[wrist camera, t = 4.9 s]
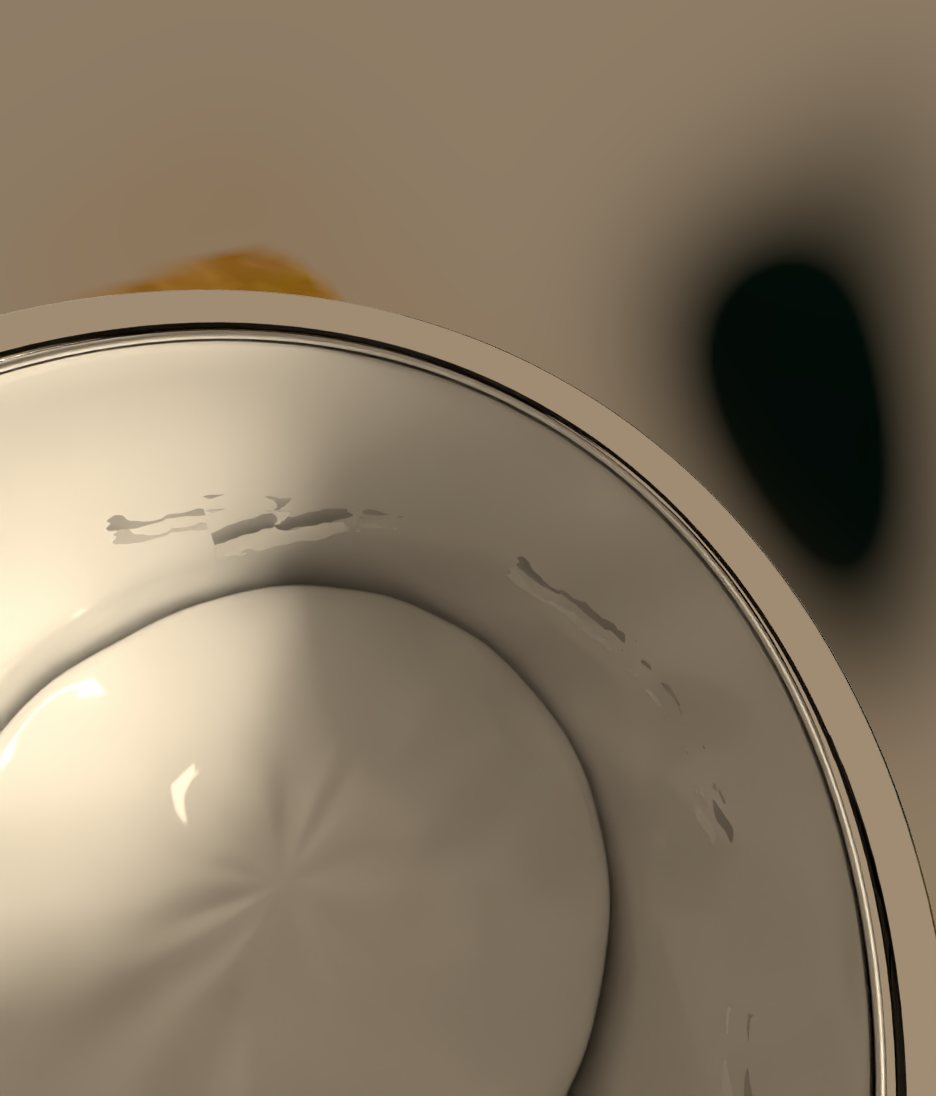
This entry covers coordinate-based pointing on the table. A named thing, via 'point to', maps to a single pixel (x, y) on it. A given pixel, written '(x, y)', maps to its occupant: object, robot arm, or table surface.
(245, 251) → the table surface
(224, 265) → the table surface
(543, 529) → the silver metal cup
